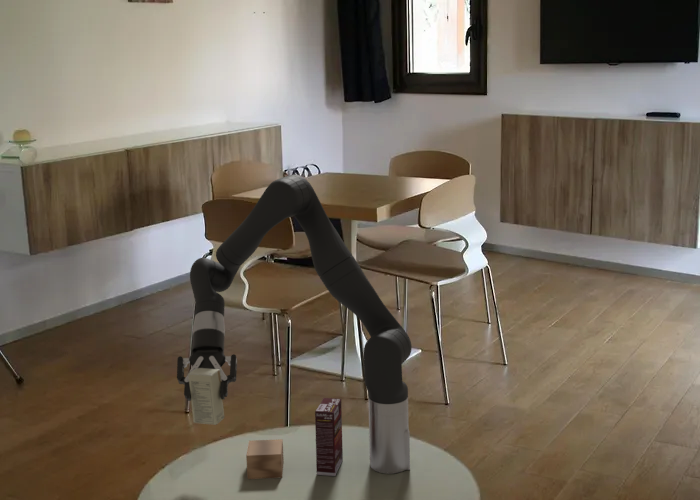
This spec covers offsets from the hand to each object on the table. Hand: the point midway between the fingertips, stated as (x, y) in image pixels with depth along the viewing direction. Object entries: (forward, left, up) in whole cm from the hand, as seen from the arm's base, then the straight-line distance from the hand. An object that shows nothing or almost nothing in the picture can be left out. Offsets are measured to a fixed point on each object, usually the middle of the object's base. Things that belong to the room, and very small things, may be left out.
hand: (205, 398), depth 200 cm
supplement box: (-28, -1, -19) cm, 34 cm away
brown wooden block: (-13, -1, -19) cm, 23 cm away
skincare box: (0, -2, -6) cm, 6 cm away
